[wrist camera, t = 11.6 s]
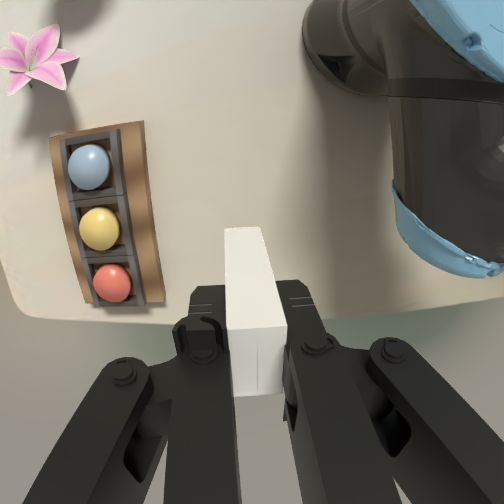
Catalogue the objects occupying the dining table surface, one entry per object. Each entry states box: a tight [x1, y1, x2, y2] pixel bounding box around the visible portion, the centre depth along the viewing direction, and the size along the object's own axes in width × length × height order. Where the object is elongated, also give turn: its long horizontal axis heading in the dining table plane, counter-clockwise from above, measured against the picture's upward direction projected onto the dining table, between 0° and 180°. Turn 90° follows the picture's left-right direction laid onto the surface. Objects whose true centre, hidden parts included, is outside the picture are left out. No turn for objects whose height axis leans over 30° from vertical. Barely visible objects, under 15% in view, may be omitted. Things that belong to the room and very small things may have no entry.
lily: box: [0, 24, 79, 96], centre depth 24 cm, size 12×12×10 cm
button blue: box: [68, 144, 112, 190], centre depth 31 cm, size 5×5×2 cm
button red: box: [93, 263, 132, 302], centre depth 37 cm, size 5×5×2 cm
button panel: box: [49, 120, 166, 306], centre depth 36 cm, size 23×12×4 cm, turn 1°
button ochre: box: [79, 207, 121, 250], centre depth 34 cm, size 5×5×2 cm
